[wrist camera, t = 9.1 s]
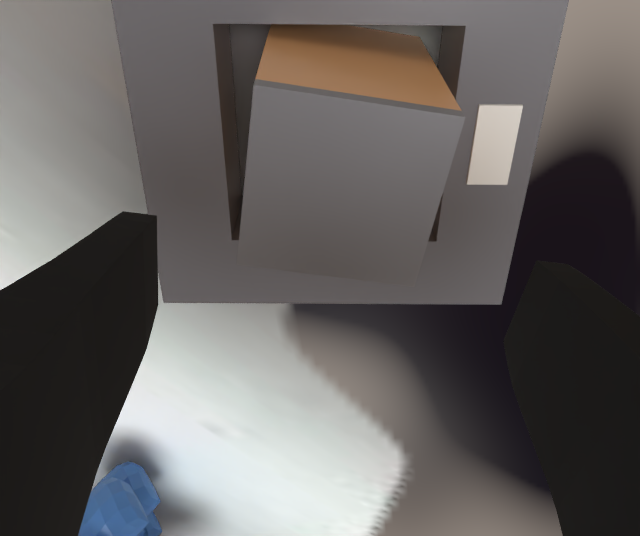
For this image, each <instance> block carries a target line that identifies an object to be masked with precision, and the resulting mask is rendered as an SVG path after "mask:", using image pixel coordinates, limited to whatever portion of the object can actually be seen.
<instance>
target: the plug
mask: <svg viewBox="0 0 640 536" xmlns="http://www.w3.org/2000/svg"><path fill="white" fill-rule="evenodd" d="M464 121H465V116H464V114H463V112H462V110H461V109H460V107H459V105H458V103H457V102H456V100H455V98H454V96H453V95H452V93H451V91H450V89H449V88H448V86H447V84H446V82H445V81H444V79H443V77H442V75H441V74H440V72H439V70H438V68H437V67H436V65H435V63H434V61H433V60H432V58H431V56H430V54H429V53H428V51H427V49H426V47H425V46H424V44H423V42H422V40H421V39H420V37H417V36H411V35H405V34H399V33H393V32H387V31H380V30H374V29H368V28H362V27H356V26H350V25H319V24H271V26H270V29H269V33H268V36H267V40H266V43H265V47H264V50H263V54H262V57H261V61H260V64H259V68H258V71H257V75H256V78H255V81H254V85H253V96H252V107H251V117H250V128H249V139H248V149H247V160H246V171H245V181H244V192H243V203H242V213H241V224H240V235H239V245H238V256H237V265H243V266H251V267H259V268H266V269H274V270H282V271H290V272H298V273H306V274H314V275H322V276H330V277H338V278H346V279H353V280H361V281H369V282H377V283H385V284H393V285H401V286H409V287H414V286H415V283H416V280H417V276H418V273H419V270H420V267H421V263H422V260H423V257H424V253H425V250H426V247H427V243H428V240H429V237H430V233H431V230H432V227H433V223H434V220H435V217H436V214H437V210H438V207H439V204H440V200H441V197H442V194H443V190H444V187H445V184H446V180H447V177H448V174H449V170H450V167H451V164H452V160H453V157H454V154H455V151H456V147H457V144H458V141H459V137H460V134H461V131H462V127H463V124H464Z"/></svg>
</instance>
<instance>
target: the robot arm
mask: <svg viewBox="0 0 640 536" xmlns="http://www.w3.org/2000/svg"><path fill="white" fill-rule="evenodd" d="M157 307H158V255H157V216H156V215H148V214H140V213H131V212H122V213H120V214H118V215H117V216H115V217H114V218H112V219H111V220H110V221H108V222H107V223H105V224H104V225H102V226H101V227H100V228H98V229H97V230H95V231H94V232H92V233H91V234H90V235H88V236H87V237H85V238H84V239H82V240H81V241H79V242H78V243H76V244H75V245H73V246H72V247H70V248H69V249H67V250H66V251H64V252H63V253H61V254H60V255H58V256H57V257H56V258H54V259H52V260H51V261H49V262H48V263H46V264H44V265H43V266H41V267H39V268H37V269H36V270H34V271H32V272H31V273H29V274H27V275H26V276H24V277H22V278H21V279H19V280H17V281H16V282H14V283H12V284H11V285H9V286H7V287H6V288H4V289H2V290H0V536H78V534H79V530H80V527H81V523H82V520H83V517H84V513H85V510H86V506H87V503H88V500H89V496H90V493H91V490H92V486H93V483H94V479H95V476H96V473H97V470H98V467H99V464H100V462H101V459H102V456H103V453H104V451H105V448H106V446H107V443H108V441H109V438H110V436H111V434H112V431H113V429H114V426H115V424H116V422H117V419H118V417H119V414H120V412H121V410H122V407H123V405H124V402H125V400H126V398H127V395H128V393H129V391H130V388H131V386H132V383H133V381H134V378H135V376H136V374H137V371H138V369H139V366H140V364H141V361H142V359H143V356H144V354H145V351H146V349H147V345H148V341H149V338H150V334H151V330H152V327H153V323H154V319H155V315H156V311H157ZM503 342H504V347H505V353H506V358H507V363H508V369H509V373H510V378H511V382H512V386H513V389H514V392H515V395H516V398H517V401H518V403H519V406H520V409H521V412H522V415H523V418H524V420H525V423H526V426H527V429H528V431H529V434H530V437H531V439H532V442H533V445H534V447H535V450H536V453H537V455H538V458H539V461H540V464H541V466H542V469H543V472H544V474H545V477H546V480H547V483H548V485H549V488H550V491H551V494H552V498H553V501H554V504H555V507H556V510H557V514H558V518H559V522H560V526H561V530H562V534H563V536H640V316H639V315H637V314H636V313H635V312H633V311H632V310H631V309H629V308H628V307H627V306H625V305H624V304H623V303H621V302H620V301H619V300H617V299H616V298H615V297H613V296H612V295H611V294H609V293H608V292H607V291H606V290H604V289H603V288H601V287H600V286H599V285H598V284H596V283H595V282H593V281H592V280H590V279H589V278H588V277H586V276H585V275H584V274H582V273H581V272H579V271H578V270H576V269H574V268H572V267H571V266H569V265H567V264H561V263H553V262H544V261H536V263H535V266H534V268H533V270H532V273H531V275H530V278H529V280H528V282H527V285H526V288H525V290H524V292H523V295H522V297H521V299H520V302H519V304H518V307H517V309H516V312H515V314H514V316H513V319H512V321H511V324H510V326H509V329H508V331H507V334H506V336H505V338H504V341H503Z"/></svg>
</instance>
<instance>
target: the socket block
mask: <svg viewBox="0 0 640 536" xmlns="http://www.w3.org/2000/svg"><path fill="white" fill-rule="evenodd" d="M111 2H112V8H113V13H114V19H115V25H116V31H117V36H118V42H119V48H120V54H121V59H122V65H123V71H124V77H125V82H126V88H127V94H128V100H129V106H130V111H131V117H132V123H133V129H134V134H135V140H136V146H137V152H138V157H139V163H140V169H141V175H142V180H143V186H144V192H145V198H146V203H147V209H148V215H156V216H157V255H158V273H159V278H160V284H161V290H162V296H163V301H164V303H320V304H323V303H324V304H325V303H326V304H329V303H330V304H497V305H499V304H500V305H501V303H502V299H503V294H504V290H505V285H506V281H507V276H508V272H509V267H510V263H511V258H512V254H513V249H514V245H515V240H516V236H517V231H518V227H519V222H520V218H521V213H522V209H523V204H524V200H525V195H526V191H527V186H528V182H529V177H530V173H531V168H532V164H533V159H534V155H535V150H536V146H537V141H538V137H539V132H540V128H541V123H542V119H543V114H544V110H545V105H546V101H547V96H548V92H549V87H550V83H551V78H552V74H553V69H554V65H555V60H556V56H557V51H558V47H559V42H560V38H561V33H562V29H563V24H564V20H565V15H566V11H567V6H568V2H569V0H111ZM229 24H319V25H443V30H442V39H441V47H440V56H439V64H438V70H439V72H440V74H441V75H442V77H443V79H444V81H445V82H446V84H447V86H448V88H449V89H450V91H451V93H452V95H453V96H454V98H455V100H456V102H457V103H458V105H459V107H460V109H461V110H462V112H463V114H464V116H465V121H464V124H463V127H462V131H461V134H460V137H459V141H458V144H457V147H456V151H455V154H454V157H453V160H452V164H451V167H450V170H449V174H448V177H447V180H446V184H445V187H444V190H443V194H442V197H441V200H440V204H439V207H438V210H437V214H436V217H435V220H434V223H433V227H432V230H431V233H430V237H429V240H428V243H427V247H426V250H425V253H424V257H423V260H422V263H421V267H420V270H419V273H418V276H417V280H416V283H415V286H414V287H409V286H401V285H393V284H385V283H377V282H369V281H361V280H353V279H346V278H338V277H330V276H322V275H314V274H306V273H298V272H290V271H282V270H274V269H266V268H259V267H251V266H243V265H237V256H238V245H239V235H240V224H241V213H242V203H243V197H242V191H241V178H240V164H239V150H238V136H237V123H236V109H235V95H234V82H233V68H232V54H231V40H230V27H229Z"/></svg>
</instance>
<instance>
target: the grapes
mask: <svg viewBox="0 0 640 536" xmlns="http://www.w3.org/2000/svg"><path fill="white" fill-rule="evenodd" d="M160 502H161V501H160V499H159V497H158V494H157V492H156V490H155V487H154V486H153V484H152V482H151V480H150V479H149V477H148V475H147V474H146V472H145V470H144V469H143V467H141V466H139V465H137V464H135V463H133V462H125V463H122V464H120V465H117V466H116V467H115V468H114V469H113V470H112V471H110V472H109V473H108V474H107V475H106V476H105V477H104V478H103V479H102V480H101V481H100V482H99V483H98V484H97V485H96V486H95V488H94V489H93V490H92V491H91V493H90V496H89V500H88V503H87V506H86V510H85V513H84V517H83V520H82V523H81V527H80V530H79V534H78V536H159V535H160V534H161V532H162V529H161V527H160V525H159V522H158V520H157V518H156V516H155V514H154V512H153V510H154V509H155V508H156V506H157V505H158V504H159V503H160Z"/></svg>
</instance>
